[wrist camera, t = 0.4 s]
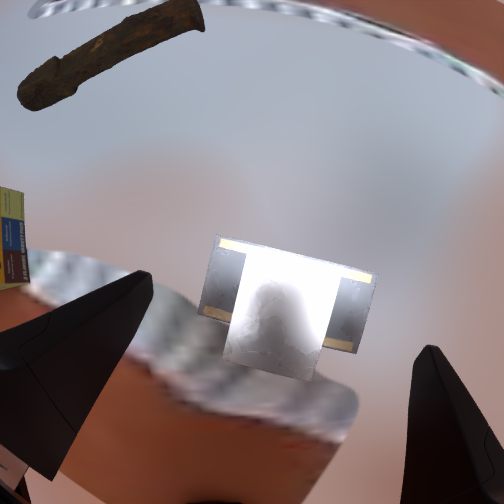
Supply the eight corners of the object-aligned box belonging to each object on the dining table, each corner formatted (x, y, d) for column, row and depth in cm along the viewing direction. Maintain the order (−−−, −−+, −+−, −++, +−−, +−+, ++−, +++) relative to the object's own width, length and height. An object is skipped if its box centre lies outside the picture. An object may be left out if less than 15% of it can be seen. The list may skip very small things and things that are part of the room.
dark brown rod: (202, 9, 27) (187, -24, 21) (210, 35, 27) (195, 0, 21) (37, 92, 30) (10, 76, 24) (36, 122, 29) (5, 107, 24)
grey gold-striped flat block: (372, 272, 24) (379, 273, 21) (351, 347, 24) (356, 355, 21) (222, 236, 25) (215, 234, 23) (204, 310, 25) (196, 314, 23)
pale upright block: (323, 267, 22) (342, 270, 13) (305, 336, 22) (310, 382, 13) (267, 254, 22) (248, 247, 14) (250, 322, 22) (221, 359, 14)
